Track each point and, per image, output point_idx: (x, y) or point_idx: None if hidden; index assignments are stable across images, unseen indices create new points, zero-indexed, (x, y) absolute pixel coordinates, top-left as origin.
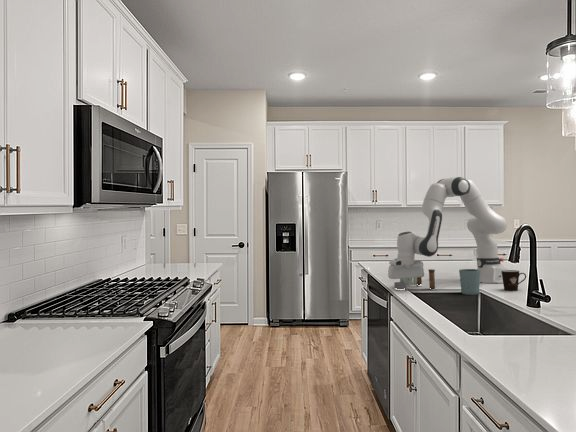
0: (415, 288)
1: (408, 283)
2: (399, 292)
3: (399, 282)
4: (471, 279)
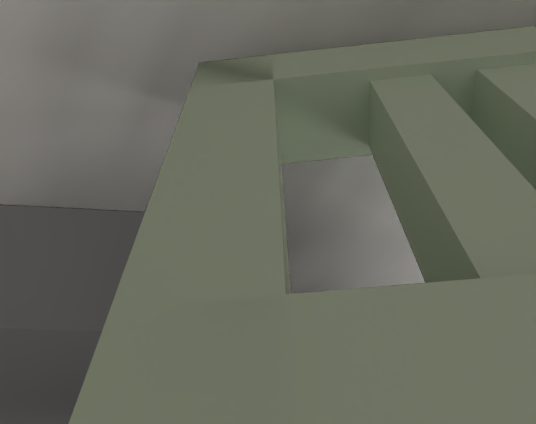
0: None
1: None
2: None
3: (29, 381)
4: None
